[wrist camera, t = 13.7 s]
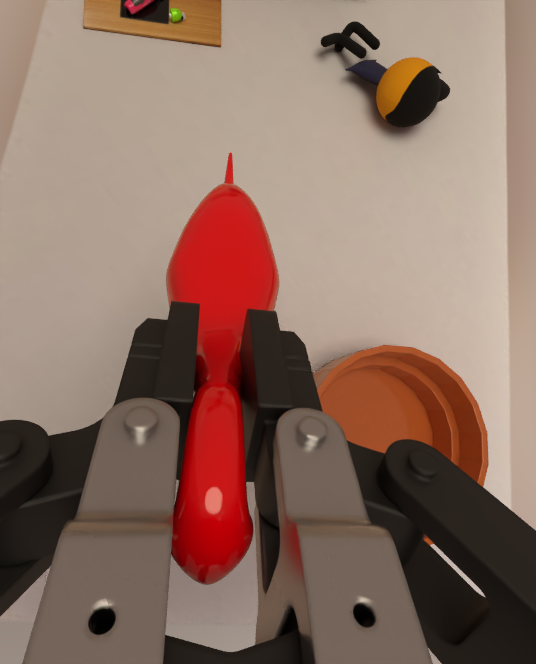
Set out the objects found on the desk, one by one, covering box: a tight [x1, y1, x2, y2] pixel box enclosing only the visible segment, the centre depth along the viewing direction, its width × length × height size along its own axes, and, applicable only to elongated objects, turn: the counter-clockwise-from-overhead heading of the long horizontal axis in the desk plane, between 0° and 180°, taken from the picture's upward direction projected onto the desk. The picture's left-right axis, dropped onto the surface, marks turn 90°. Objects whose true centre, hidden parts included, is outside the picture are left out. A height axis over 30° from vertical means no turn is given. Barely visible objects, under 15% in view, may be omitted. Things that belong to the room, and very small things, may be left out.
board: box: [83, 0, 221, 47], centre depth 39 cm, size 6×12×2 cm, turn 91°
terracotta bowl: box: [313, 345, 488, 545], centre depth 33 cm, size 14×14×6 cm
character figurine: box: [321, 22, 450, 127], centre depth 42 cm, size 10×6×12 cm
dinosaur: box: [166, 153, 279, 585], centre depth 14 cm, size 4×15×12 cm, turn 178°
